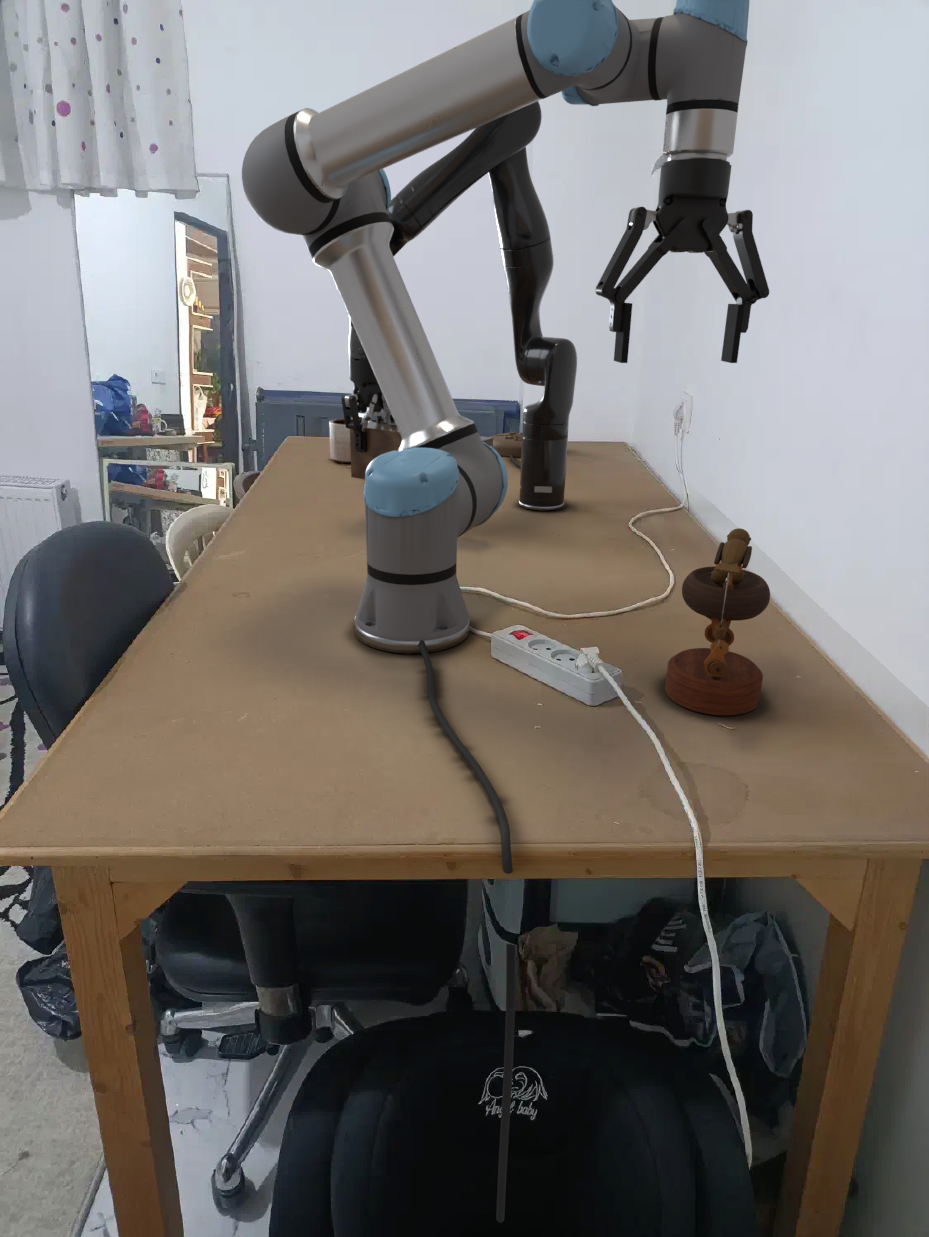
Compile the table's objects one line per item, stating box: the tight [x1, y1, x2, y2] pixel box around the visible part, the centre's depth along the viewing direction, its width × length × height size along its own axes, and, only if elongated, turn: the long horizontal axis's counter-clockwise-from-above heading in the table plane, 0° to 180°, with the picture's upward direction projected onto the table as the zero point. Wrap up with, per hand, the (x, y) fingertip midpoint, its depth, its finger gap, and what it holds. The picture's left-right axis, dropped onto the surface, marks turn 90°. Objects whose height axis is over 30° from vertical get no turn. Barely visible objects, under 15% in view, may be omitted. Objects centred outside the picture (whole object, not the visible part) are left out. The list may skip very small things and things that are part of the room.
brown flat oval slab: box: [489, 431, 522, 458], centre depth 222 cm, size 21×28×4 cm
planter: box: [328, 417, 373, 464], centre depth 212 cm, size 11×11×10 cm
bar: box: [350, 421, 493, 481], centre depth 151 cm, size 27×6×10 cm, turn 57°
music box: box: [664, 527, 771, 716], centre depth 94 cm, size 15×11×20 cm
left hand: (675, 362), depth 101 cm, fingers open, 13 cm apart
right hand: (372, 449), depth 156 cm, fingers closed on bar, 5 cm apart
